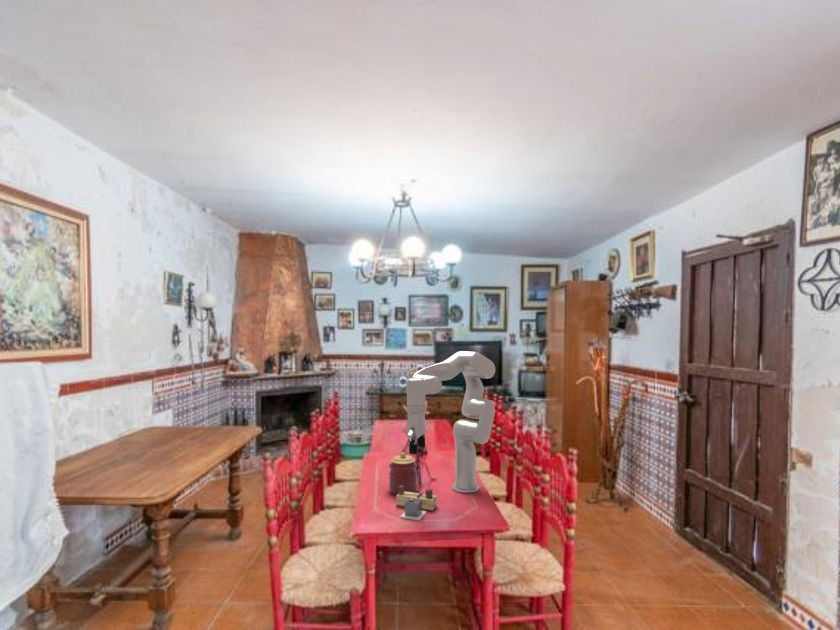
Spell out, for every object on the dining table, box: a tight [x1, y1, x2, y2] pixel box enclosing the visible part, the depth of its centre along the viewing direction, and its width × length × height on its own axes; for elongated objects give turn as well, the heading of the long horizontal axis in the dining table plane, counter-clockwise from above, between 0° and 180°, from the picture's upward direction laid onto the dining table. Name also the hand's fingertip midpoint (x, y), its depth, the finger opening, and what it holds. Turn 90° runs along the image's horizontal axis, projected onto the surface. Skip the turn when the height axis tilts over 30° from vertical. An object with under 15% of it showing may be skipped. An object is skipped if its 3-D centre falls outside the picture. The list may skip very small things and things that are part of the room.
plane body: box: [395, 485, 438, 512], centre depth 195 cm, size 6×16×8 cm, turn 70°
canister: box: [388, 451, 418, 496], centre depth 213 cm, size 13×13×18 cm
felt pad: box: [399, 510, 427, 522], centre depth 186 cm, size 8×8×1 cm
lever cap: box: [404, 498, 423, 517], centre depth 186 cm, size 5×6×6 cm
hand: (417, 450), depth 190 cm, fingers open, 9 cm apart
